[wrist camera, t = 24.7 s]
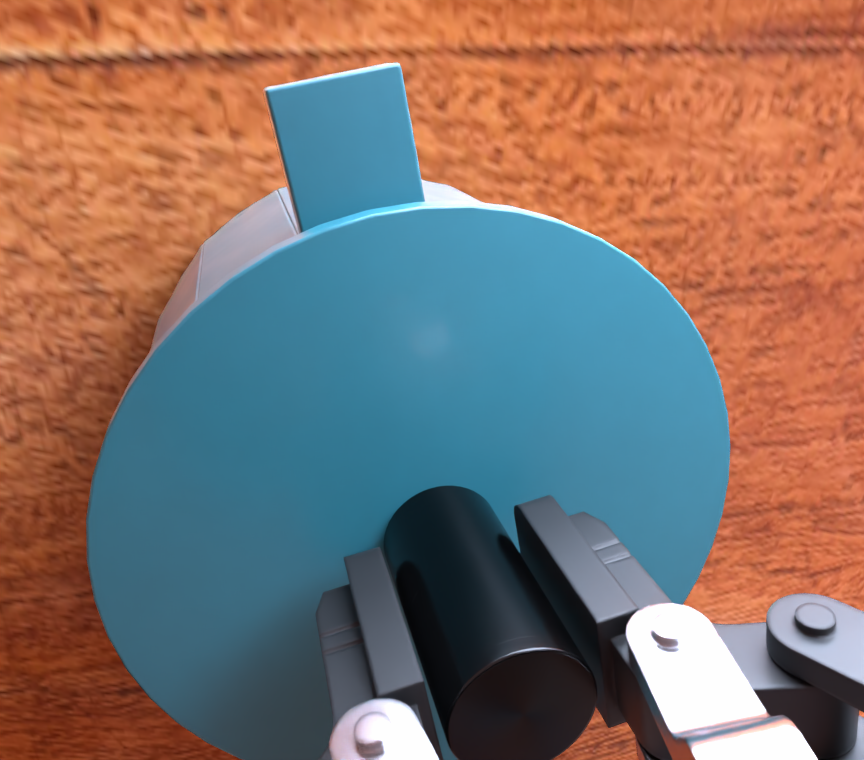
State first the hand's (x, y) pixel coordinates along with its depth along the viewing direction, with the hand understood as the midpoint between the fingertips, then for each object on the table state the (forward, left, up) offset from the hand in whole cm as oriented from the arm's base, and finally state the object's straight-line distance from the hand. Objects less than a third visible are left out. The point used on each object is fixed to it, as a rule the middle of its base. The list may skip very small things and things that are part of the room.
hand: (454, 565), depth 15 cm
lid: (0, 0, -2) cm, 2 cm away
